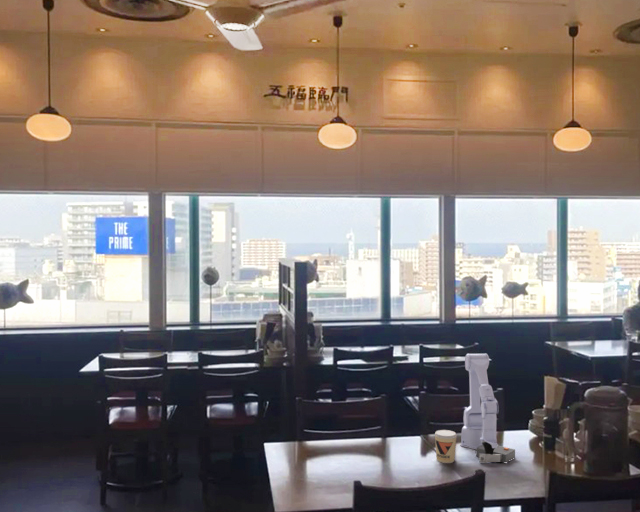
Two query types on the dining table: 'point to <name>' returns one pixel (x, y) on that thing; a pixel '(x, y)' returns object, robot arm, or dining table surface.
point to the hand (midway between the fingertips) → (489, 459)
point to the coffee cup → (445, 445)
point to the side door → (490, 458)
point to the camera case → (498, 452)
